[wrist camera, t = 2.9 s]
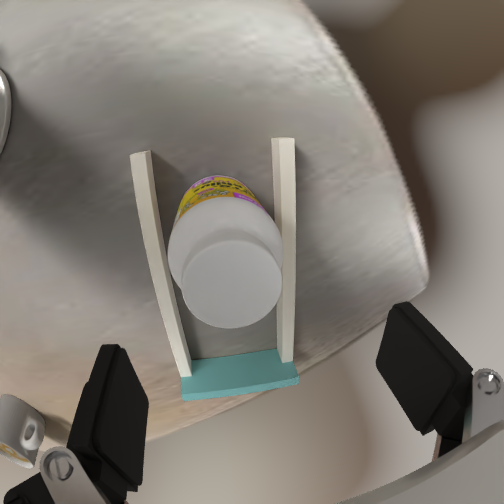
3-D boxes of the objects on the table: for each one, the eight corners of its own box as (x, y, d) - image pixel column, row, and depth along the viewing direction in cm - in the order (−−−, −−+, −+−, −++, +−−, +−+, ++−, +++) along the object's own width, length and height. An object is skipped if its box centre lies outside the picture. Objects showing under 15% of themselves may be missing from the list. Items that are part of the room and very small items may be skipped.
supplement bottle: (264, 183, 24) (325, 237, 13) (244, 253, 26) (279, 349, 15) (187, 165, 22) (173, 204, 11) (172, 239, 25) (153, 334, 13)
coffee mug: (20, 424, 33) (9, 462, 24) (-8, 391, 29) (-25, 431, 20) (68, 431, 35) (59, 476, 26) (38, 398, 30) (22, 446, 21)
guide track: (136, 152, 21) (120, 158, 17) (285, 137, 23) (305, 139, 18) (183, 368, 31) (183, 400, 27) (286, 353, 33) (298, 383, 28)
